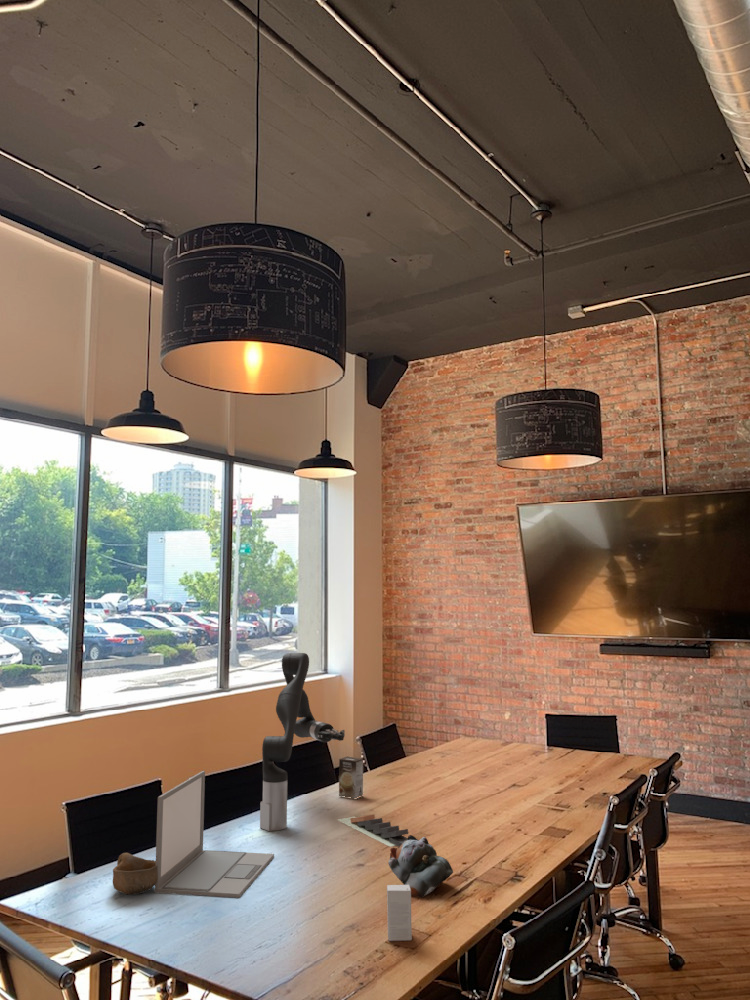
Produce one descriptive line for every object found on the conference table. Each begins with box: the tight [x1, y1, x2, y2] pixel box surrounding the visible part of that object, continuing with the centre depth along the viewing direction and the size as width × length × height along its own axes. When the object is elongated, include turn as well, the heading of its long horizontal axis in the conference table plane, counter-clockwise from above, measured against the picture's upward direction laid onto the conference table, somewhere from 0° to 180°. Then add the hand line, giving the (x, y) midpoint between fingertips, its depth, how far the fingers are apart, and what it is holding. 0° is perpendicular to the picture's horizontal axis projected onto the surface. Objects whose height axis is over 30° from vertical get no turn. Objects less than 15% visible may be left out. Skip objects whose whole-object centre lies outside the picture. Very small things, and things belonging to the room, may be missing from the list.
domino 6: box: [389, 835, 408, 848], centre depth 262 cm, size 2×5×10 cm
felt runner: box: [337, 816, 396, 848], centre depth 278 cm, size 38×10×1 cm, turn 32°
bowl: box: [112, 852, 158, 896], centre depth 223 cm, size 18×14×10 cm
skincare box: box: [386, 884, 413, 942], centre depth 192 cm, size 6×4×12 cm
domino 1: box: [350, 813, 376, 823], centre depth 286 cm, size 2×5×10 cm
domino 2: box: [358, 817, 384, 826], centre depth 281 cm, size 2×5×10 cm
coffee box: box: [338, 756, 364, 798], centre depth 328 cm, size 9×6×16 cm
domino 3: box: [365, 821, 391, 830], centre depth 276 cm, size 2×5×10 cm
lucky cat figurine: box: [387, 834, 454, 898], centre depth 225 cm, size 17×14×16 cm
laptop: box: [154, 770, 275, 898], centre depth 238 cm, size 35×26×27 cm
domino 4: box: [373, 825, 400, 834], centre depth 272 cm, size 2×5×10 cm
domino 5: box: [381, 828, 409, 838], centre depth 267 cm, size 2×5×10 cm
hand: (341, 737), depth 302 cm, fingers closed
